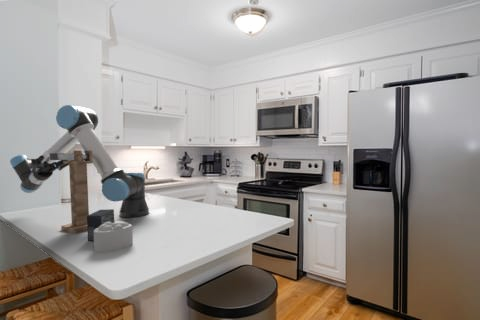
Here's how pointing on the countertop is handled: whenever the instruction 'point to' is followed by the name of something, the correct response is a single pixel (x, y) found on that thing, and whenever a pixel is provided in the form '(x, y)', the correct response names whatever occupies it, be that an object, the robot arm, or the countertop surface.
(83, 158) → the lever
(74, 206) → the stand
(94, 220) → the small box
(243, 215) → the countertop surface
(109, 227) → the grey rounded container
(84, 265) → the countertop surface
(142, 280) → the countertop surface
